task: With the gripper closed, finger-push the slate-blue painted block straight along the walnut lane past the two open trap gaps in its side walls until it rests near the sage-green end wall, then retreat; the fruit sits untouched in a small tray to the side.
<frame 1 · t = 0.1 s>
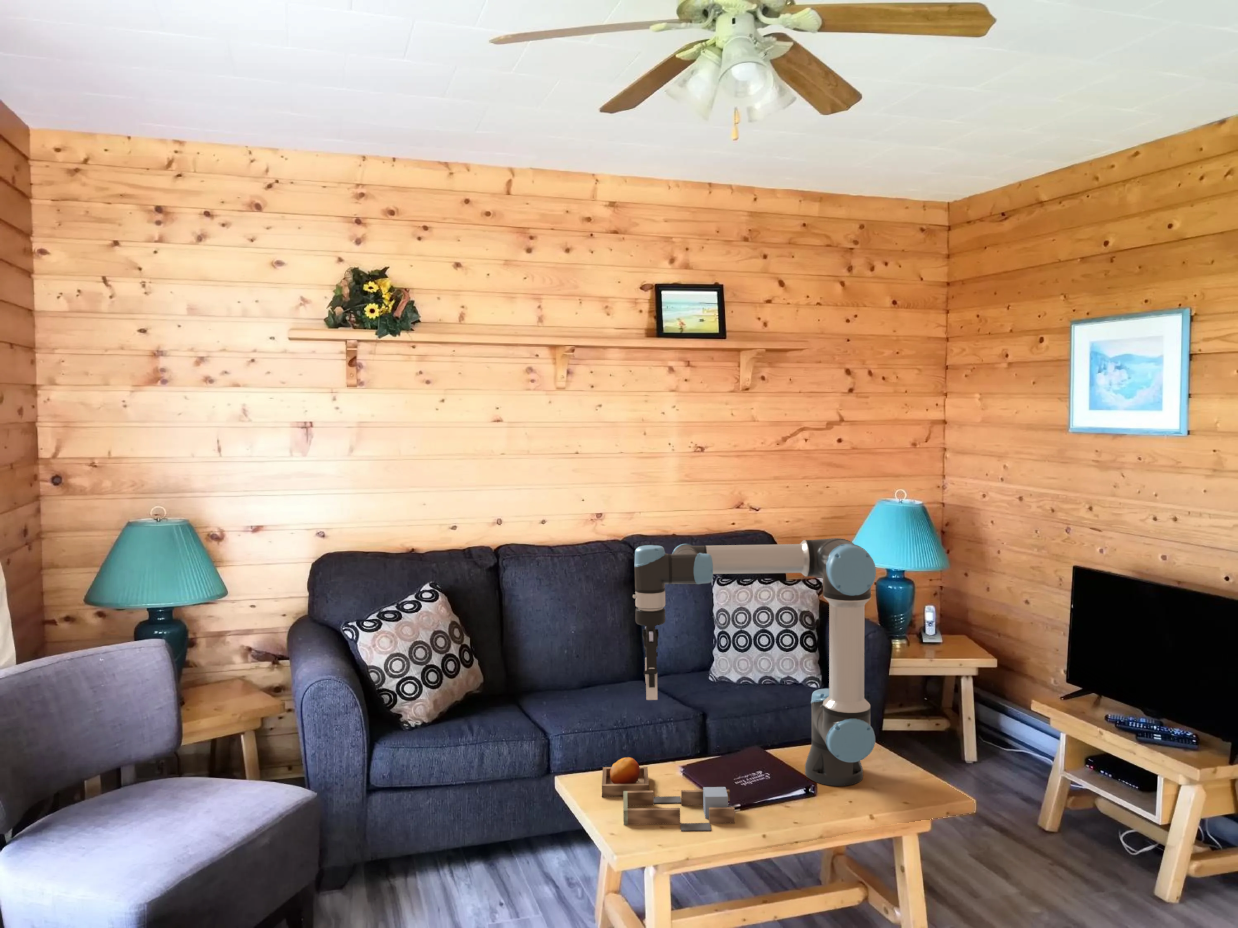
hand: (651, 690, 229), 28 cm above the table, fingers open, 13 cm apart
lane: (678, 813, 222), on the table
tray: (625, 786, 238), on the table
fruit: (625, 785, 238), resting on tray
block: (715, 813, 222), on the table
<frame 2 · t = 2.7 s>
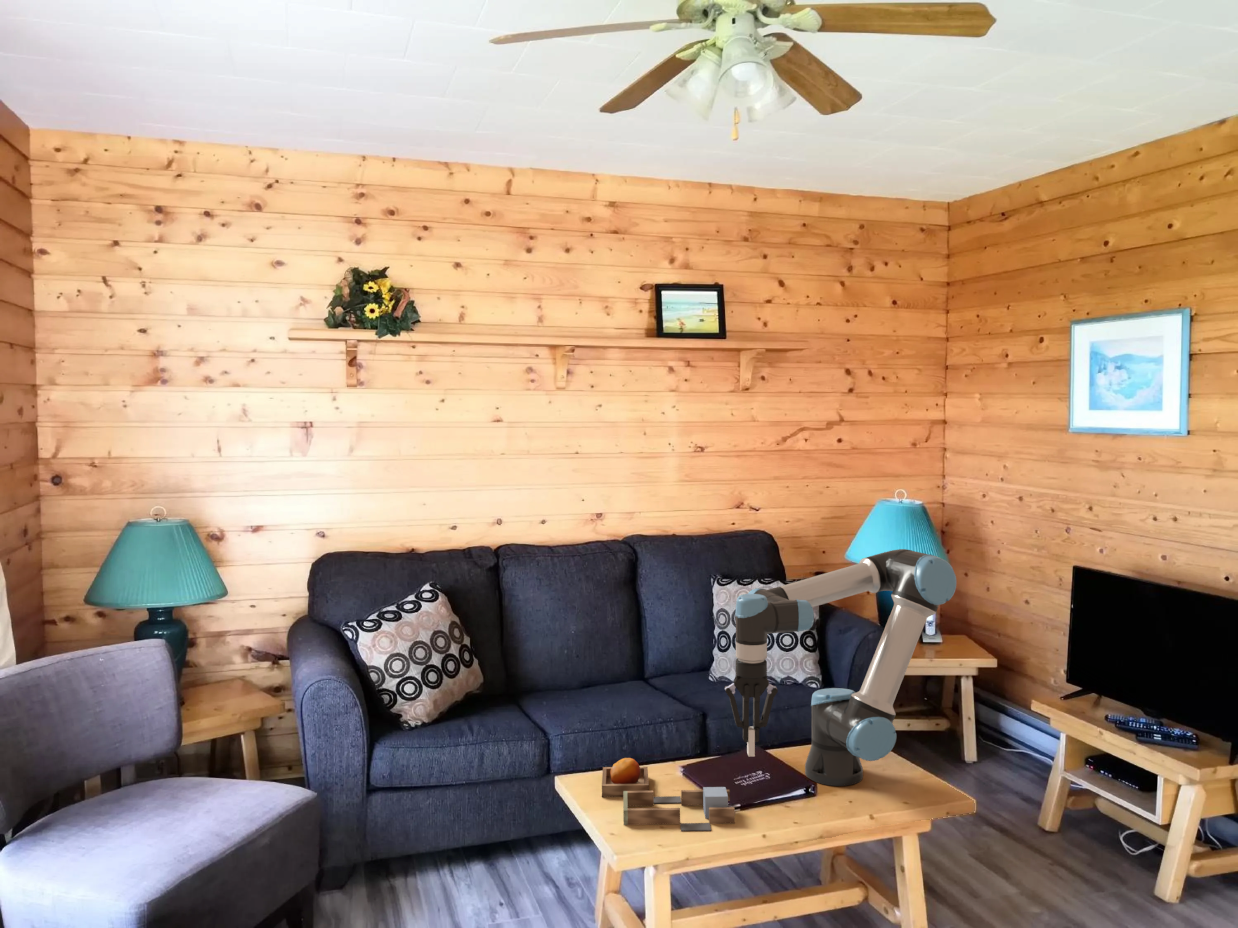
hand: (750, 754, 221), 15 cm above the table, fingers closed
nothing on the table moved.
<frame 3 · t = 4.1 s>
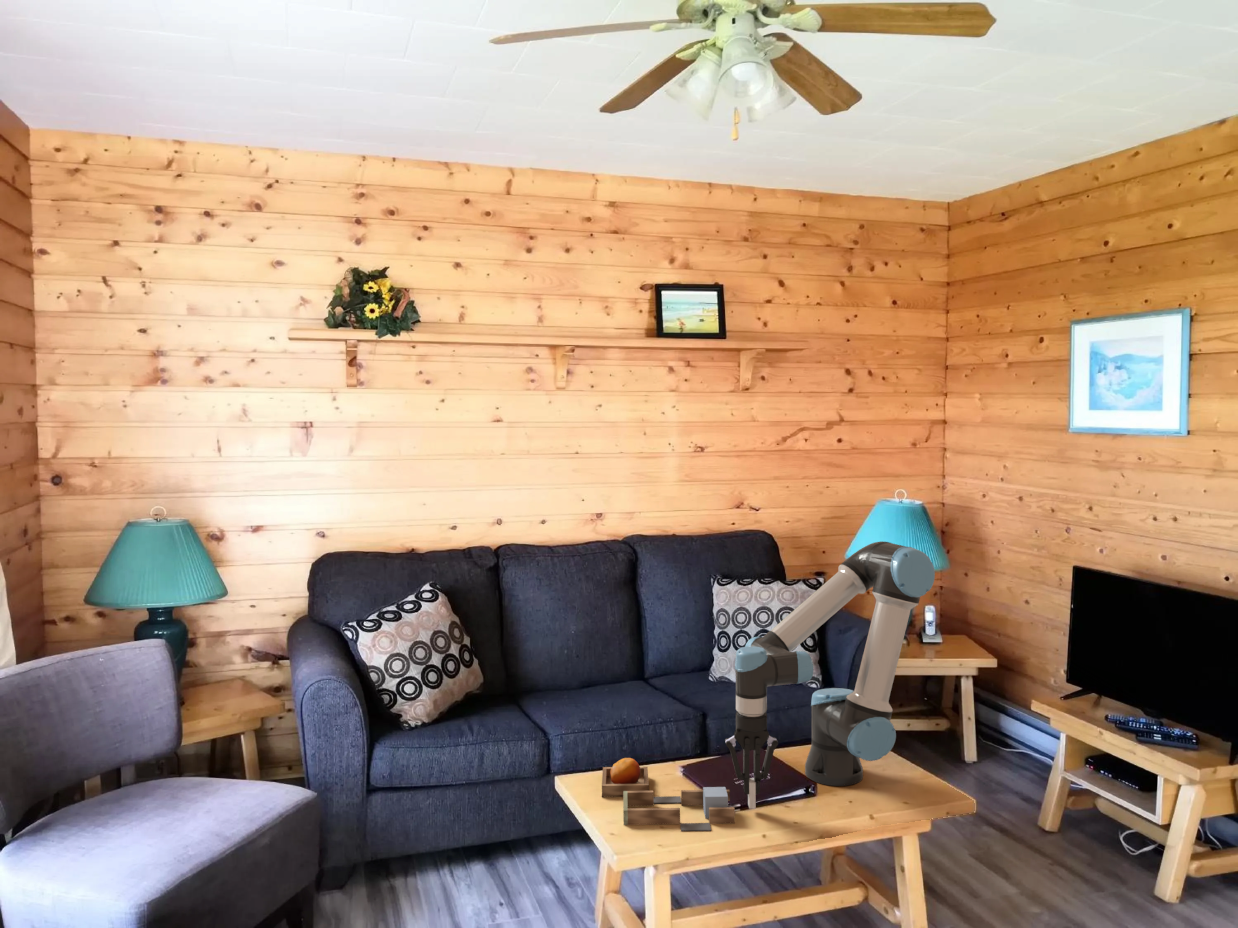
hand: (751, 806, 222), 2 cm above the table, fingers closed
nothing on the table moved.
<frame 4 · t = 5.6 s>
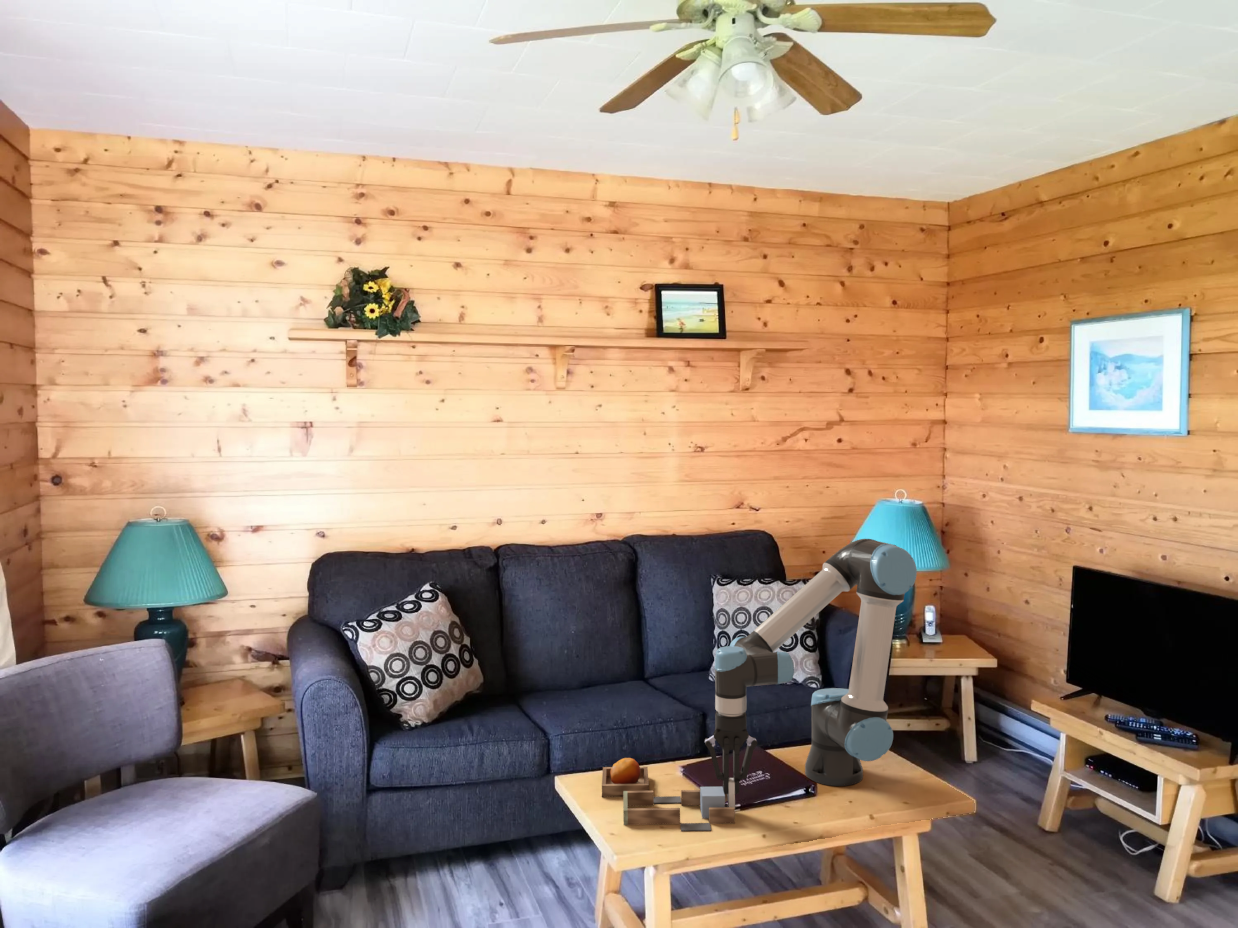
hand: (731, 805, 222), 2 cm above the table, fingers closed
block: (712, 813, 222), on the table, touching gripper
everything else where it was.
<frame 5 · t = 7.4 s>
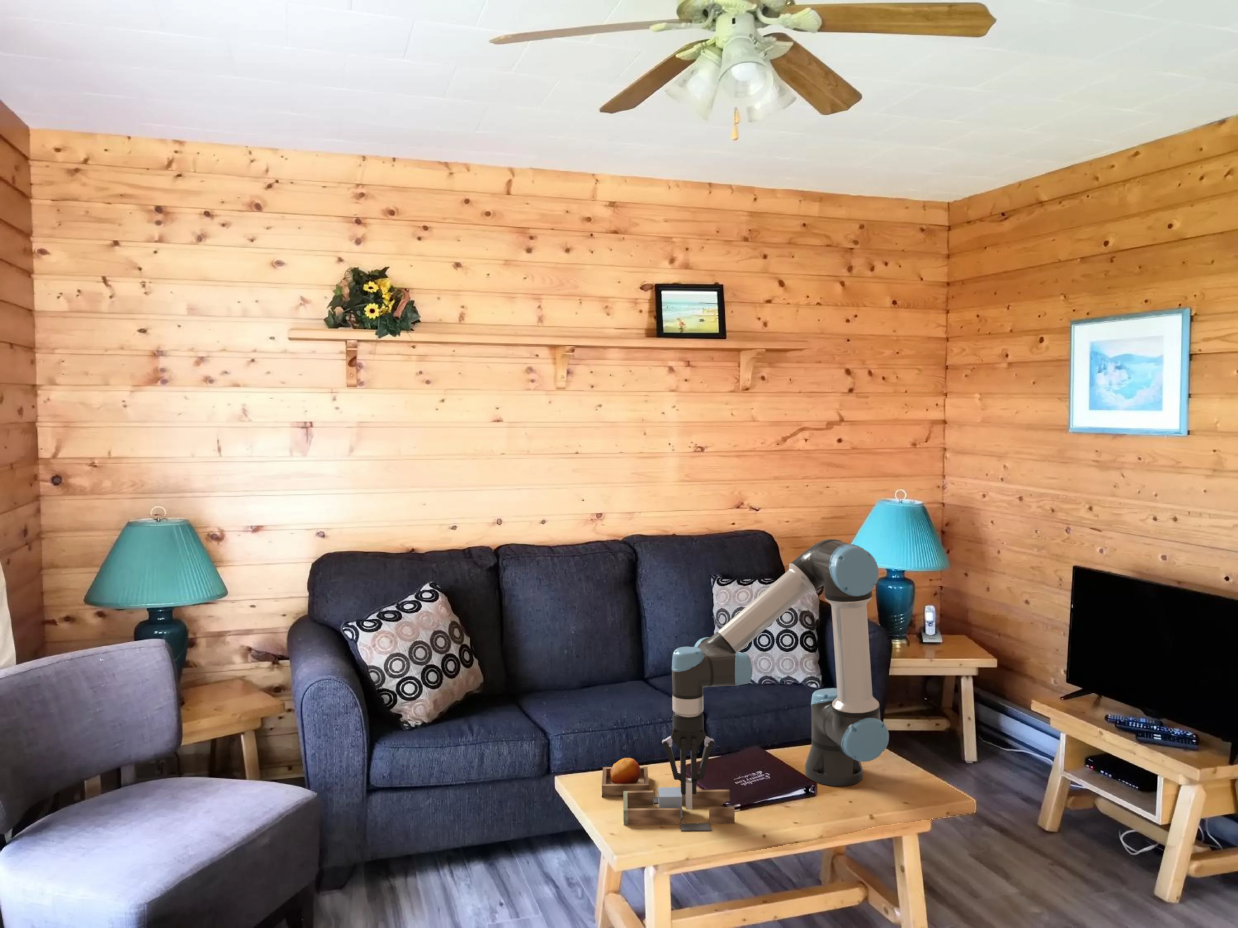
hand: (688, 806, 222), 2 cm above the table, fingers closed
block: (670, 813, 222), on the table, touching gripper
everything else where it was.
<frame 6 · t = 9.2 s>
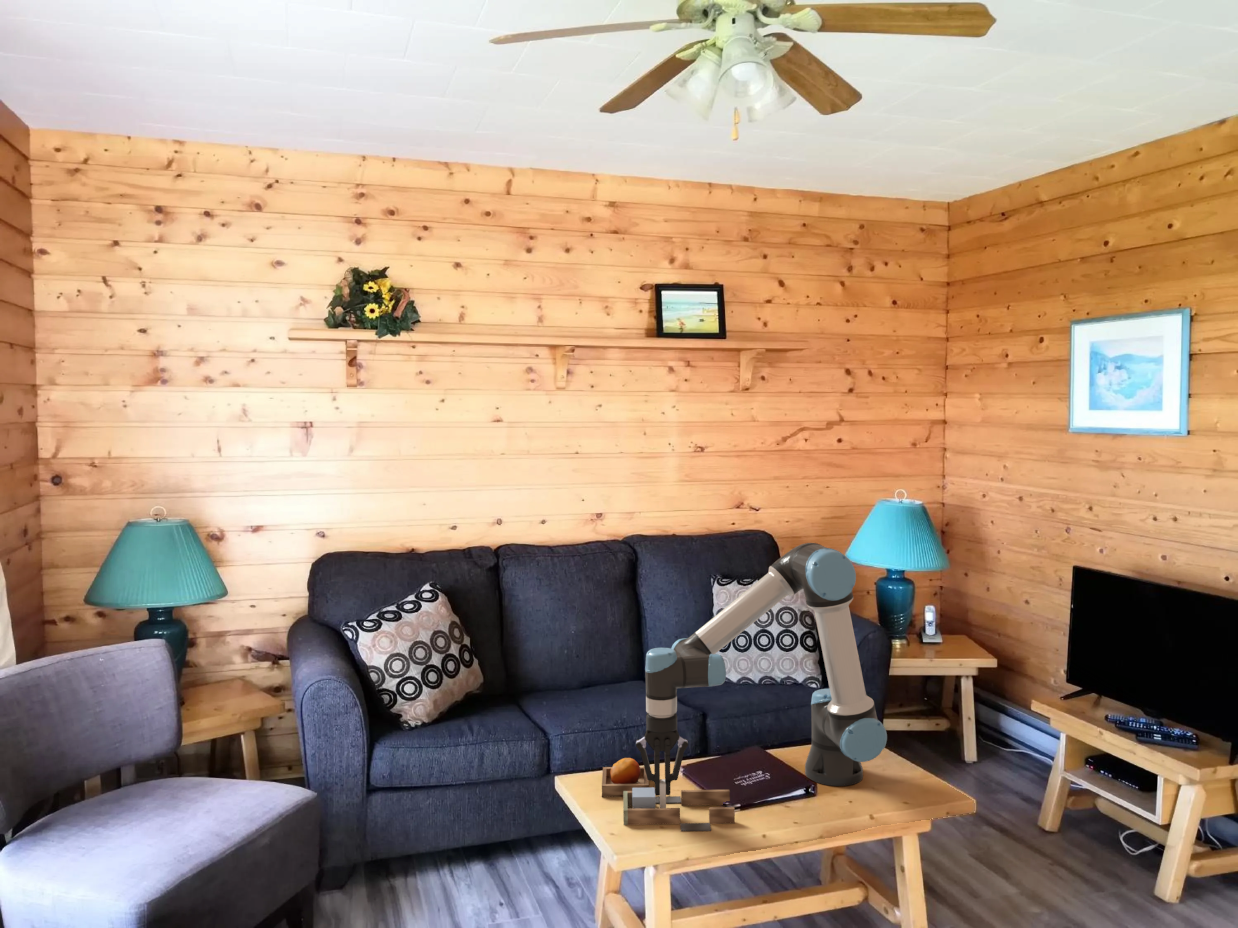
hand: (662, 807, 222), 2 cm above the table, fingers closed
block: (643, 813, 222), on the table, touching gripper
everything else where it was.
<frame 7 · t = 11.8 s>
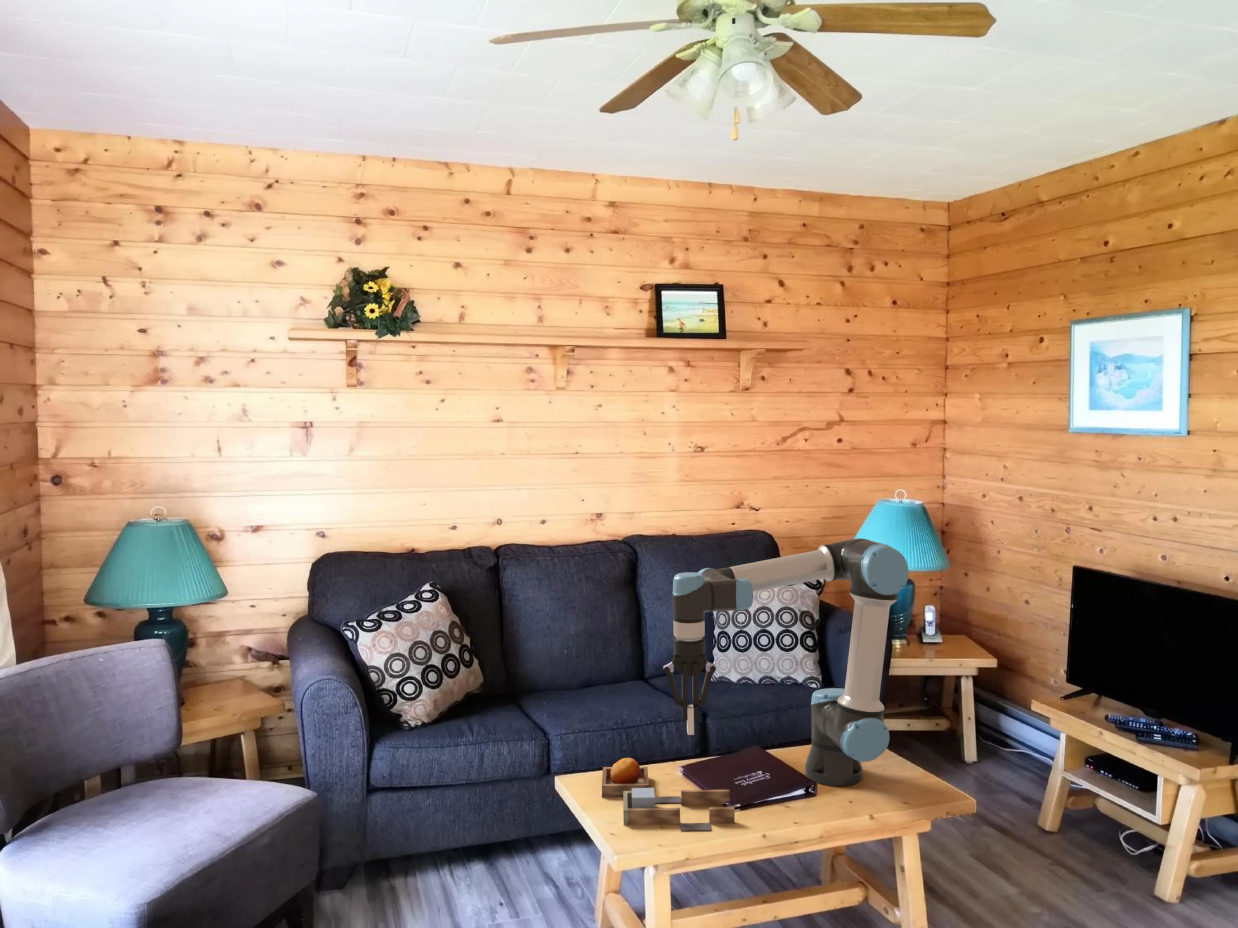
hand: (690, 732, 221), 20 cm above the table, fingers closed
block: (643, 814, 222), on the table
everything else where it was.
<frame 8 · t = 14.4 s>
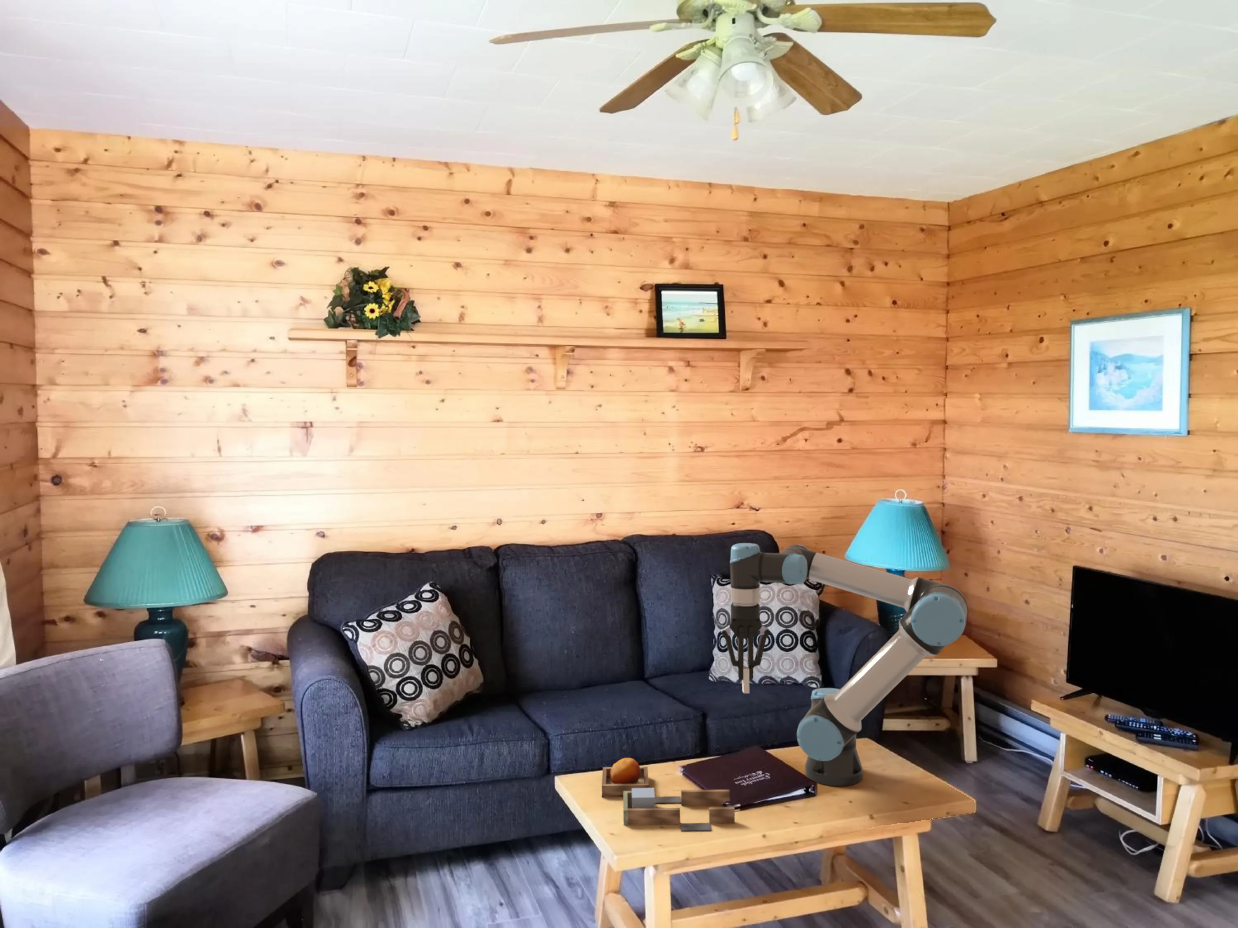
hand: (745, 691, 239), 24 cm above the table, fingers closed
nothing on the table moved.
at the end: block inside the target area on the lane (0.4 cm from its centre), point 0.0 cm above the lane's base; block moved 17.6 cm from its start; block tilted 0° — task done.
